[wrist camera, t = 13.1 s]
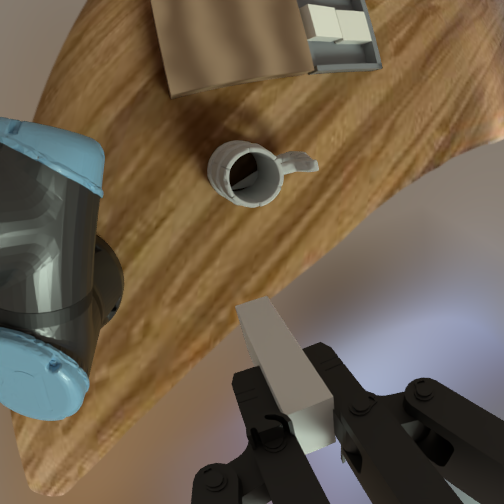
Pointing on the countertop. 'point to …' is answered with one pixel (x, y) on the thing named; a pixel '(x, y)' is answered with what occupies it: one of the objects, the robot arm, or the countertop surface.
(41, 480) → the countertop surface
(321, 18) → the tile
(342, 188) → the countertop surface
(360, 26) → the tile
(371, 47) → the tray
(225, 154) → the mug
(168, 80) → the board
